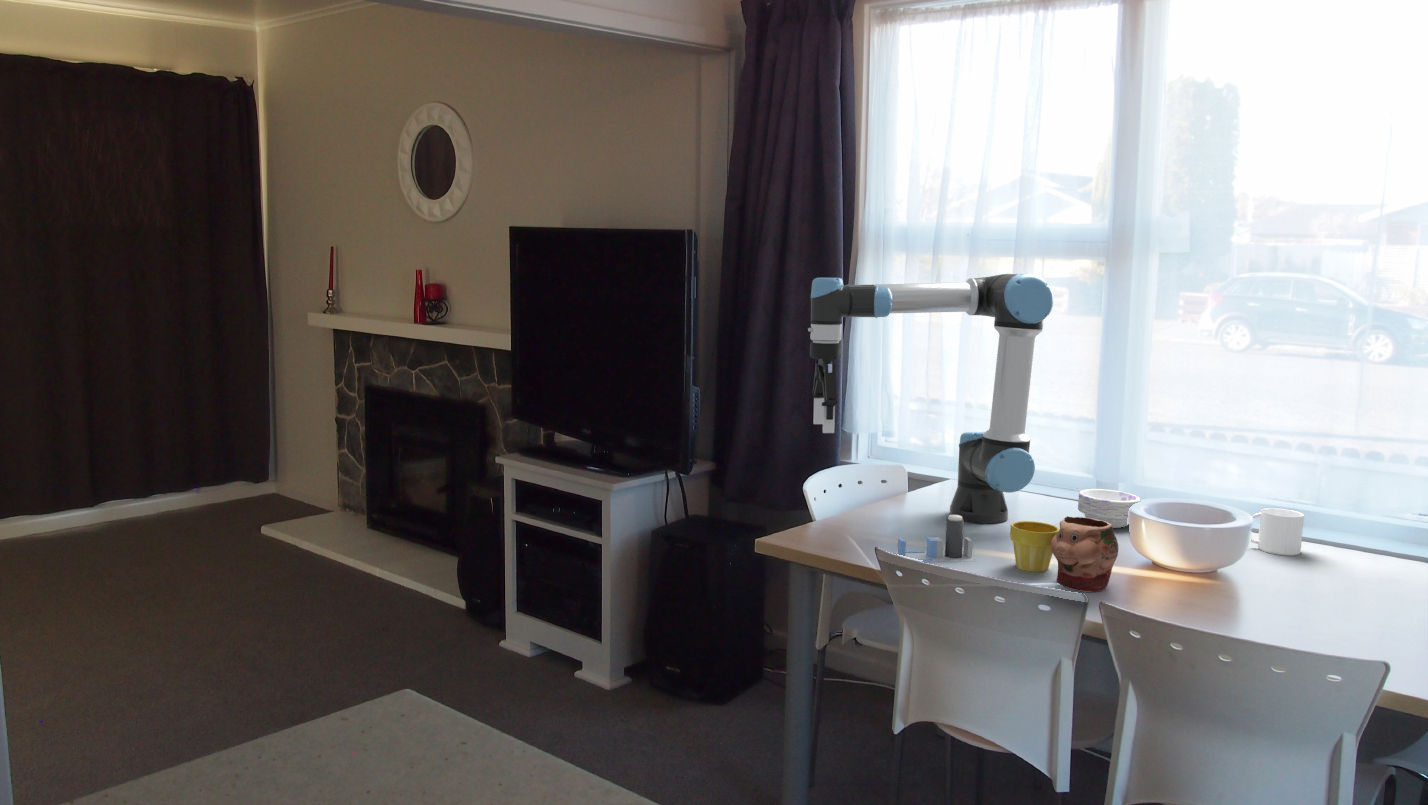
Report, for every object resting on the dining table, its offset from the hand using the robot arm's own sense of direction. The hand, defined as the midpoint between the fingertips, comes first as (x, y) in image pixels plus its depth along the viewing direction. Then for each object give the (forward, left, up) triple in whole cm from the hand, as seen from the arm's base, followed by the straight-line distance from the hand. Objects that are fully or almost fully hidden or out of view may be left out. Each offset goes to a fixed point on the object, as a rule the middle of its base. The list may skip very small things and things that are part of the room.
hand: (823, 428), depth 249 cm
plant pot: (-42, +31, -27) cm, 59 cm away
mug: (-107, +17, -27) cm, 111 cm away
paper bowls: (-78, -8, -27) cm, 83 cm away
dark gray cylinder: (-27, +22, -26) cm, 43 cm away
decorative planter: (-49, +42, -27) cm, 70 cm away
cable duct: (-22, +22, -27) cm, 41 cm away
